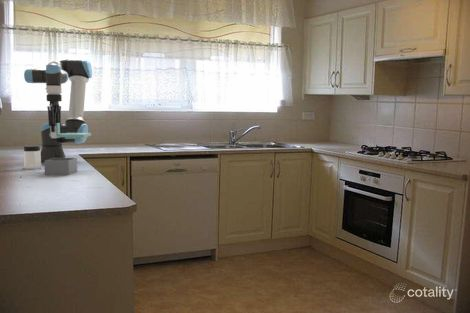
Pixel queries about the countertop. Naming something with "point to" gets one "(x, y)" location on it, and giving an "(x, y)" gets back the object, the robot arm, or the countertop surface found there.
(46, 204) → the countertop surface
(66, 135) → the teal t-shaped block
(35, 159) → the jar
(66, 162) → the tub
